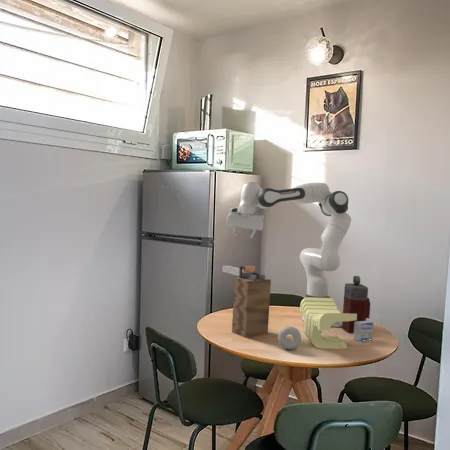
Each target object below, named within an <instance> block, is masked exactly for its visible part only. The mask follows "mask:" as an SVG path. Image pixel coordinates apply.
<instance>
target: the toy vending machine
mask: <svg viewBox="0 0 450 450" xmlns="http://www.w3.org/2000/svg"><path fill="white" fill-rule="evenodd" d="M352 282H353V283H349V282H348V283H344V291H343V293H344V295H343V307H342V308H343V309H342V313H348V314H357V320H354V321H343V322H342V327H341V329H342V330H344V331H345V332H346V333H347V332H348V333H347V334H354V322H357V321H367V319H370V316H371V315H370V314H371V313H370V312H371V302H370V298H369V287H368V286H365V285H363V284H362V283H361V277H360V275H354V276H353V277H352Z"/></svg>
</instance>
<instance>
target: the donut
mask: <svg viewBox="0 0 450 450" xmlns="http://www.w3.org/2000/svg"><path fill="white" fill-rule="evenodd" d="M289 335H291V336H292V337H293V339H292V340H291V341H288V340H287V336H289ZM277 339H278V343H279V346H281V347H282V348H283V349H284V350H287V351H288V350H289V351H290V350H294V349H297V348H298V347H299V346H300V345H301V342H302V334H301V332H300V331H299V329H298V328H296V327H295V326H286V327H283V328H282V329H281V330H280V331H279V333H278V335H277Z"/></svg>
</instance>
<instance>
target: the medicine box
mask: <svg viewBox="0 0 450 450" xmlns="http://www.w3.org/2000/svg"><path fill="white" fill-rule="evenodd" d="M373 330H374V322H373V321H370V320H366V321H357V322H354V333H353V340H354V339H356V340H355V341H357V340H359V341H363V340H369V339H372V340H373V333H374V331H373ZM359 341H358V342H359ZM363 342H364V341H363Z"/></svg>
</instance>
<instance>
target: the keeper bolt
mask: <svg viewBox="0 0 450 450" xmlns="http://www.w3.org/2000/svg"><path fill="white" fill-rule="evenodd" d="M239 268H240V267H236V266H232V265H222V271H221V272H222V273H225V274H226V273H227V274H231V275H233V276H238V277H239ZM253 271H255V272H256V266H255V265H245V267H244V269H242V272H244V273H248V274H252V275H253Z"/></svg>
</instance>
